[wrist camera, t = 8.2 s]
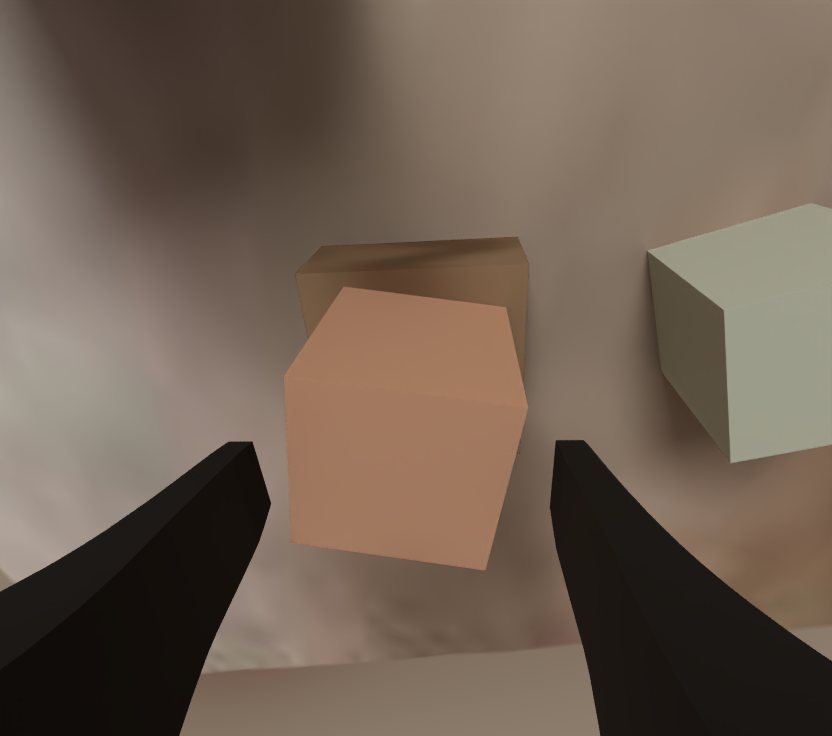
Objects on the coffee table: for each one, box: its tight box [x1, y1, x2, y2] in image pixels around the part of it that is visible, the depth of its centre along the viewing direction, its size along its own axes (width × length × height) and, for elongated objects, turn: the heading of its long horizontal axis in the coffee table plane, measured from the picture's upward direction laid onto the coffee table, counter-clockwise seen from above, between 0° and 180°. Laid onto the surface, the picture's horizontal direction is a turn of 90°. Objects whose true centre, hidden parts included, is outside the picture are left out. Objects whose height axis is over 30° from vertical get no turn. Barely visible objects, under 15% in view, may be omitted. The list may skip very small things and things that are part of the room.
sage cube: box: [647, 203, 832, 463], centre depth 14 cm, size 5×5×6 cm
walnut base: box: [295, 237, 529, 454], centre depth 17 cm, size 7×7×4 cm
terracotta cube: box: [284, 287, 528, 570], centre depth 13 cm, size 5×5×6 cm
